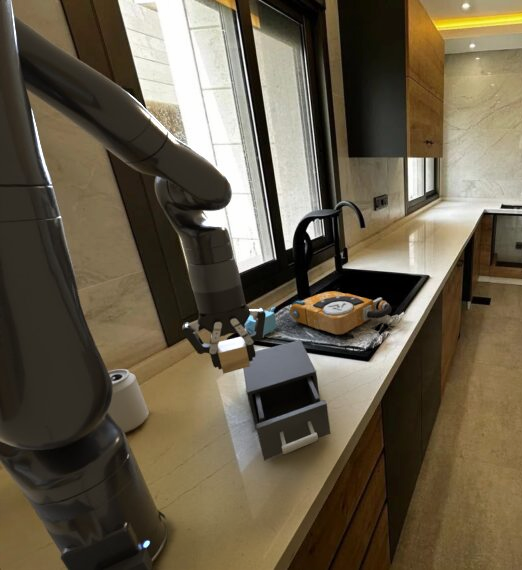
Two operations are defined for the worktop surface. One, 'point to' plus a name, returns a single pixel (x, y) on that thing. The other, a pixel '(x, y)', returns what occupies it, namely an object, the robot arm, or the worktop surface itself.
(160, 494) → the worktop surface
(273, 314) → the teapot
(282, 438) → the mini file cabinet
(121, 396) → the can
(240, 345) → the block
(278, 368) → the gray drawer box
